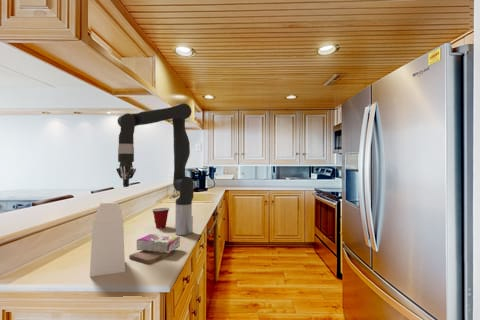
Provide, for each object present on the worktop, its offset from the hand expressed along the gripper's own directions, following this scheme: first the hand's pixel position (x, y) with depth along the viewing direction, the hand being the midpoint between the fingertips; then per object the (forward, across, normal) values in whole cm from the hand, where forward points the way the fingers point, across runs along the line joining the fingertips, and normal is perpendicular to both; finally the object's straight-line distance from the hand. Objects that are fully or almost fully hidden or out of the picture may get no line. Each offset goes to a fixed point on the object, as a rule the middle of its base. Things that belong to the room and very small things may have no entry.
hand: (125, 186), depth 140 cm
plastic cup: (+29, +10, -33) cm, 45 cm away
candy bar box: (+25, -16, +2) cm, 29 cm away
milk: (+29, -22, +24) cm, 44 cm away
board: (+29, -26, +6) cm, 39 cm away
